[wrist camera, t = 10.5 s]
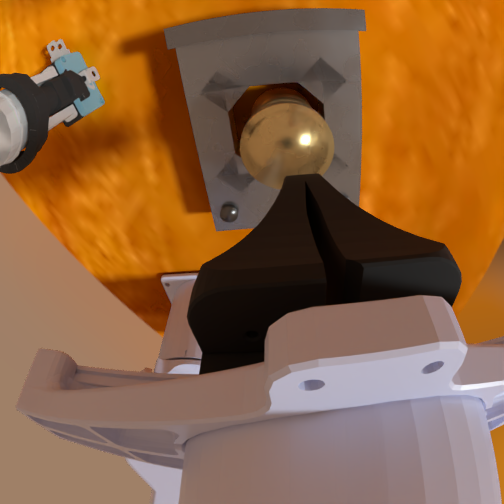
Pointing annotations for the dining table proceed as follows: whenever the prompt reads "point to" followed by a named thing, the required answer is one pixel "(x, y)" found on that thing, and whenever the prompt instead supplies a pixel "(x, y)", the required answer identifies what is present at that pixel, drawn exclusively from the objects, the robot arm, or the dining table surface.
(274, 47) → the jig
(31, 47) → the dining table surface
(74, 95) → the push button
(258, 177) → the brass door knob
